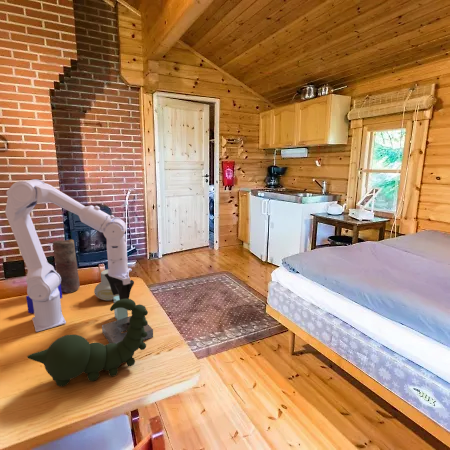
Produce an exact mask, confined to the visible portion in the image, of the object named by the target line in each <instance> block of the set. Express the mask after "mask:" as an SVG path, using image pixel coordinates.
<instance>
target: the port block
mask: <svg viewBox="0 0 450 450" xmlns="http://www.w3.org/2000/svg"><path fill="white" fill-rule="evenodd" d="M131 316H132V315H131ZM131 316H129V315H128V317H126V318H123V319H120V320H117V319H116V320H114V321H111V322H108V323H104V324H101V330H102V331H101V332H102V334H103V336H104V337H105V339H106V340H107V342H108V344H109V343H116V344H117V343H118V342H120V341H123V338H124V337H125V335H126V334H127V328H128V327H129V325H130V323H129V320H130V317H131ZM144 329H145V331H146V333H147V336H146V337H145V338H143V337H142V338H143V339H144V341H146V340H149V339H151V338H154V328H152V326H151V325H149V323H148V324H147V325H146V326H144Z"/></svg>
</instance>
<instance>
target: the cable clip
mask: <svg viewBox="0 0 450 450" xmlns="http://www.w3.org/2000/svg"><path fill="white" fill-rule="evenodd" d="M58 290H59V292H60V300H61V299H62V298H63V292H62V291H61V283H60V285H59V286H58ZM25 299H26V305H27V313H28V314H34V308H33V300H32V299H31V298H30V297H29V296H28V295H26V297H25Z"/></svg>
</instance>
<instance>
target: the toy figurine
mask: <svg viewBox="0 0 450 450" xmlns="http://www.w3.org/2000/svg"><path fill="white" fill-rule="evenodd" d="M116 308H125V309H127V310H128V311H131V317H130V320H129V323H130V325H129V327H128V328H127V331H126V332H127V334H126V335H125V337H124V338H123V341H120V342H118V343H117V344H116V343H109V342H108V343H107V344H104V343H101V342H96V341H94V342H91V343H90V342H89V341H88V340H87V339H86V338H85V337H84V336H82V335H79V334H66V335H63V336H60V337H58V338H57V339H55V340H54V341H52V343H51V344H50V345H49V347H48V348H46V349H44V350H43V349H42V350H40V351H36V352H34V353H31V354H28V355H27V356H26V357H27V359H29V360H32V361H35V362H37V363H41V364H43V365H44V369H45V370H46V372H47V374H48V375H49V376H50V377H51V378H52V380H53V381H54V382H55V385H57V386H58V387H60V388H61V387H62V388H63V387H65V386H67V385H68V384H69V383H70V382H71V380H73V379H75V378H77V377H79V376H80V375H82V374H86V376H87V380H88V381H89V382H95V381H97V380H98V378H99V377H100V372H101V371H106V372H107V371H108V375H109V376H110V377H115V376H117V375H118V372H119V369H118V368H119V367H121V365H122V364H126V366H127V367H133V366H134V365H135V363H136V360H135V357H134V354H135V352H137V351H138V350H140V351H144V350H145V349H146V347H147V344H146V343H145V342H144V341H145V340H144V339H143V338H145V337H146V336H147V333H146V331H145V329H144V326H146V325H147V324H148V325H149V322H148V320H147V318H146V316H147V315H148V313H149V311H148V310H147V308H146V306H145V305H143V304H141V303H139V304H136V302H135V301H134V300H133V299H131V298H129V299H121V300H118V301H117V302H115V303H114V302H113V304H112V305H111V307H110V309H109V311H111V312H113V311H114V309H116ZM142 337H143V338H142Z"/></svg>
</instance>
